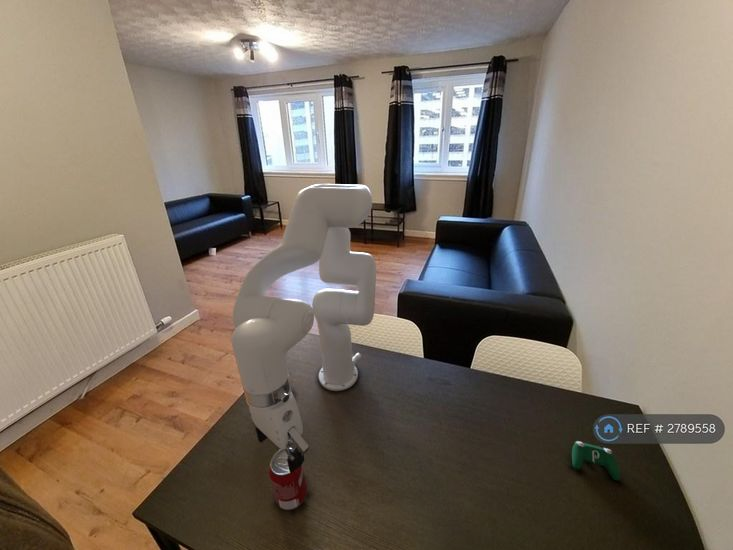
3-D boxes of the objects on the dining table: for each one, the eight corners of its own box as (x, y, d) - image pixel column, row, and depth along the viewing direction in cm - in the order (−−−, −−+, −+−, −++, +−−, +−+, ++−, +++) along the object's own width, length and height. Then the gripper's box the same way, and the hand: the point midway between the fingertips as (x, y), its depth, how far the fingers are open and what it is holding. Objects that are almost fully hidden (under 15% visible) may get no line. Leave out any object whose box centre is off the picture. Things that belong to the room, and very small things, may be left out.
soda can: (300, 515, 63) (293, 481, 58) (270, 508, 64) (260, 474, 59) (311, 481, 69) (306, 448, 64) (284, 475, 70) (276, 442, 65)
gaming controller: (613, 478, 70) (613, 449, 72) (622, 482, 67) (621, 452, 69) (568, 465, 73) (568, 438, 75) (574, 469, 70) (574, 440, 71)
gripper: (318, 396, 50) (325, 462, 57) (257, 354, 60) (270, 415, 67) (280, 428, 44) (294, 497, 52) (220, 376, 54) (239, 439, 62)
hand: (280, 450), depth 59 cm, fingers open, 9 cm apart
